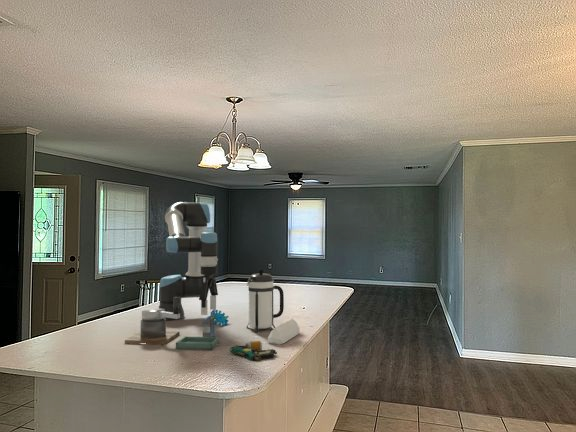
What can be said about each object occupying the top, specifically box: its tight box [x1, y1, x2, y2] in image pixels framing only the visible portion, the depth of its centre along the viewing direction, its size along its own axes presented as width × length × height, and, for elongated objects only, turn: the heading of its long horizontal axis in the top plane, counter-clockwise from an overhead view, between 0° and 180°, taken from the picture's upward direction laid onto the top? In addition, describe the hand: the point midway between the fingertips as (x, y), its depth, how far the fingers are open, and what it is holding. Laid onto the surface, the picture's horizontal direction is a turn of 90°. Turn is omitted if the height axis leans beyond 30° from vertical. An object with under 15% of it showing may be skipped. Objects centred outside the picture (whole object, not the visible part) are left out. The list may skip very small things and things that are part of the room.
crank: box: [141, 297, 180, 322], centre depth 194 cm, size 20×10×11 cm, turn 60°
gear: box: [212, 309, 229, 327], centre depth 225 cm, size 11×6×10 cm
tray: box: [175, 336, 220, 351], centre depth 185 cm, size 11×16×2 cm
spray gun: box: [229, 340, 278, 362], centre depth 172 cm, size 4×17×15 cm
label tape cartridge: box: [202, 309, 216, 337], centre depth 200 cm, size 9×4×12 cm, turn 178°
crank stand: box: [124, 319, 181, 345], centre depth 197 cm, size 18×18×8 cm
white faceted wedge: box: [267, 318, 301, 345], centre depth 197 cm, size 7×7×24 cm
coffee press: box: [246, 268, 285, 333], centre depth 216 cm, size 17×16×30 cm
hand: (208, 312), depth 200 cm, fingers open, 13 cm apart
